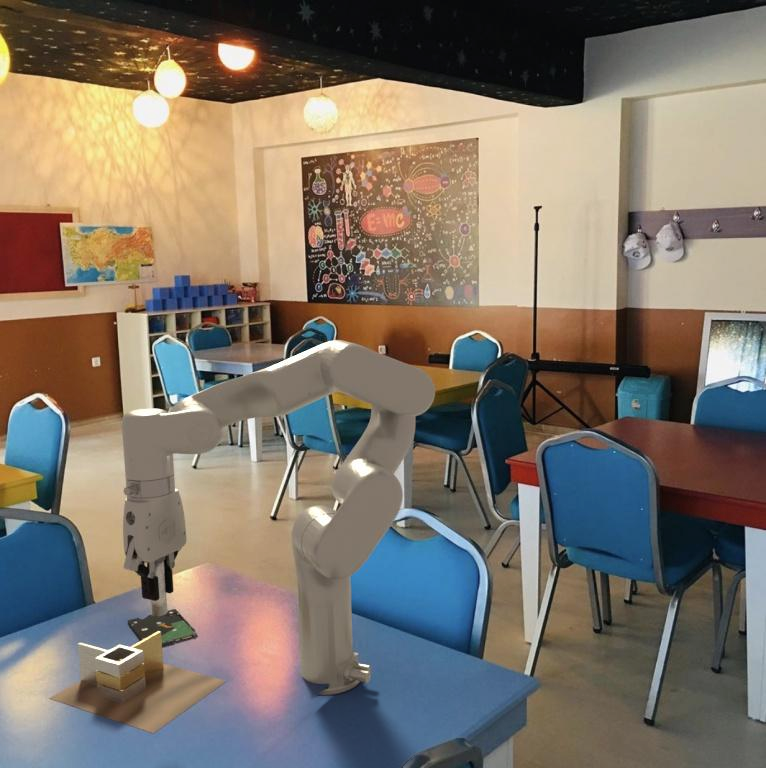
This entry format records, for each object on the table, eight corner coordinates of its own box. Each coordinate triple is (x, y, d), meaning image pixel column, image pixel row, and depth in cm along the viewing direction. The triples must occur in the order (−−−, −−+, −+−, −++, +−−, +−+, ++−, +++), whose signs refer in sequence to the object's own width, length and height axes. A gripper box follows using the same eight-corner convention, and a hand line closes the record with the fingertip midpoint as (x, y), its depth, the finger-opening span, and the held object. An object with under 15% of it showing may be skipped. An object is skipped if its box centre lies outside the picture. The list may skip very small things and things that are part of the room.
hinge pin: (173, 610, 137) (169, 552, 135) (159, 618, 134) (155, 559, 133) (158, 607, 138) (154, 549, 137) (144, 614, 136) (140, 556, 134)
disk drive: (127, 633, 172) (148, 660, 159) (126, 620, 171) (147, 646, 159) (176, 620, 177) (200, 645, 165) (175, 607, 177) (199, 632, 164)
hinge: (173, 670, 151) (171, 634, 150) (121, 703, 140) (118, 665, 139) (123, 656, 157) (120, 621, 156) (69, 687, 146) (66, 649, 145)
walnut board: (227, 689, 147) (226, 681, 147) (154, 741, 131) (153, 733, 131) (127, 660, 158) (127, 653, 158) (49, 706, 143) (49, 698, 142)
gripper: (131, 502, 124) (139, 618, 127) (202, 476, 138) (208, 581, 141) (94, 496, 128) (103, 610, 130) (167, 471, 142) (174, 574, 145)
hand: (158, 594), depth 136 cm, fingers closed on hinge pin, 2 cm apart
